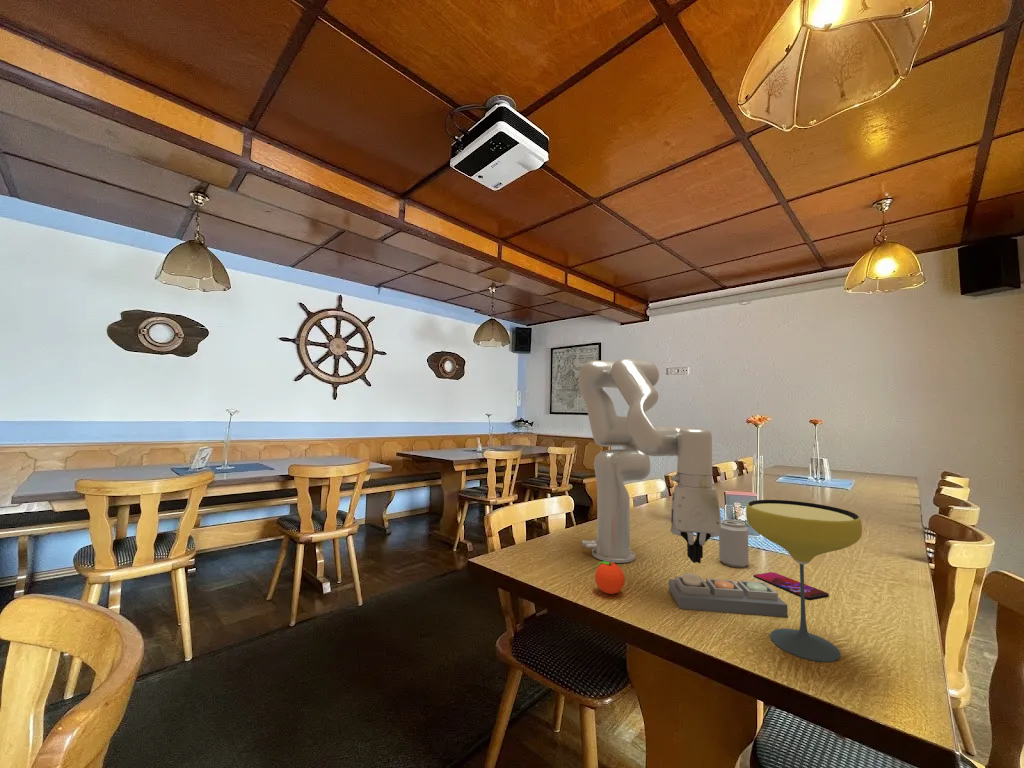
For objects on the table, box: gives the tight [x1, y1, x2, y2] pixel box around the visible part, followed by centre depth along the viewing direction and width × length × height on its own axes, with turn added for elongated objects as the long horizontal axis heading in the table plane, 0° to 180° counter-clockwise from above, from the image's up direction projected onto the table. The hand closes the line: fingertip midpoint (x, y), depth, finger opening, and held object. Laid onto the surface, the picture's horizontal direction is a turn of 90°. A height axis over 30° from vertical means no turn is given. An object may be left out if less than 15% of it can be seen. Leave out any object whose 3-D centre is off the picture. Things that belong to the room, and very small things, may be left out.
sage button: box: [747, 581, 767, 592], centre depth 95 cm, size 4×4×2 cm
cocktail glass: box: [745, 499, 863, 663], centre depth 79 cm, size 18×18×25 cm
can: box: [718, 519, 750, 568], centre depth 121 cm, size 8×8×12 cm
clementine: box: [593, 561, 625, 595], centre depth 100 cm, size 8×7×7 cm
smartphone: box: [753, 571, 830, 601], centre depth 105 cm, size 8×1×15 cm
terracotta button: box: [714, 579, 734, 589], centre depth 96 cm, size 4×4×2 cm
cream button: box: [682, 573, 702, 587], centre depth 97 cm, size 4×4×2 cm
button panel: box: [668, 575, 789, 618], centre depth 95 cm, size 22×10×4 cm, turn 82°
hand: (694, 560), depth 97 cm, fingers closed
